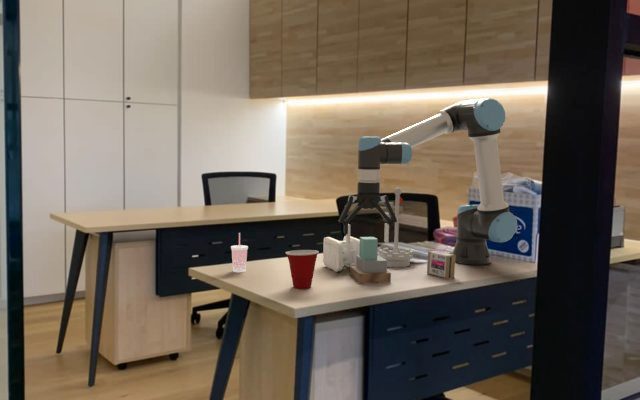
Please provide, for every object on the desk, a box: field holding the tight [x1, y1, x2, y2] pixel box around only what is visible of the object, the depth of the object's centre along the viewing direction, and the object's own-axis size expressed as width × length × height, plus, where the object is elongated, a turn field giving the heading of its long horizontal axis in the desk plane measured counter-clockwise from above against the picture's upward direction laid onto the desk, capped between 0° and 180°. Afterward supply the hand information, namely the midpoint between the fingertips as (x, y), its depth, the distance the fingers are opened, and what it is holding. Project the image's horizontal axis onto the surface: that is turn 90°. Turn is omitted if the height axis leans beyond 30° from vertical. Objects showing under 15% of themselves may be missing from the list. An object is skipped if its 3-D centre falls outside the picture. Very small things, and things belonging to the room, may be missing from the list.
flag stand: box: [378, 187, 414, 268], centre depth 238 cm, size 13×13×30 cm
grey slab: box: [356, 254, 388, 273], centre depth 213 cm, size 8×10×4 cm
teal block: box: [359, 236, 379, 260], centre depth 212 cm, size 5×5×7 cm
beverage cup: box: [230, 232, 249, 273], centre depth 221 cm, size 6×6×14 cm
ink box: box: [426, 250, 456, 280], centre depth 219 cm, size 10×4×8 cm, turn 37°
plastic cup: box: [285, 249, 319, 290], centre depth 199 cm, size 11×11×12 cm
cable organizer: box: [322, 235, 360, 273], centre depth 228 cm, size 15×11×12 cm
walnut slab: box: [349, 266, 392, 285], centre depth 213 cm, size 11×13×4 cm
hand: (367, 243), depth 212 cm, fingers open, 13 cm apart
